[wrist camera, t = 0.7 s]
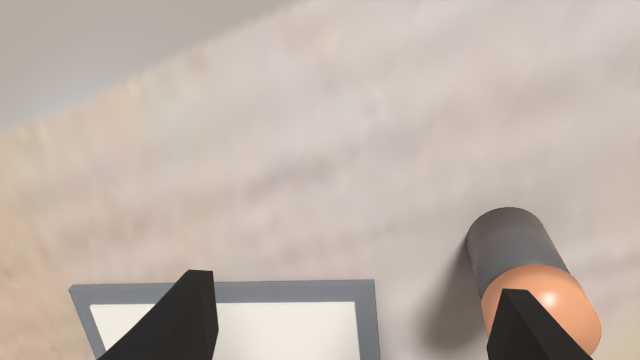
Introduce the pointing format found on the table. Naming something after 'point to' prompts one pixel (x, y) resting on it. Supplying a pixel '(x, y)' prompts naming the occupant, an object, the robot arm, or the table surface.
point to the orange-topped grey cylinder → (528, 272)
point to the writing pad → (251, 318)
